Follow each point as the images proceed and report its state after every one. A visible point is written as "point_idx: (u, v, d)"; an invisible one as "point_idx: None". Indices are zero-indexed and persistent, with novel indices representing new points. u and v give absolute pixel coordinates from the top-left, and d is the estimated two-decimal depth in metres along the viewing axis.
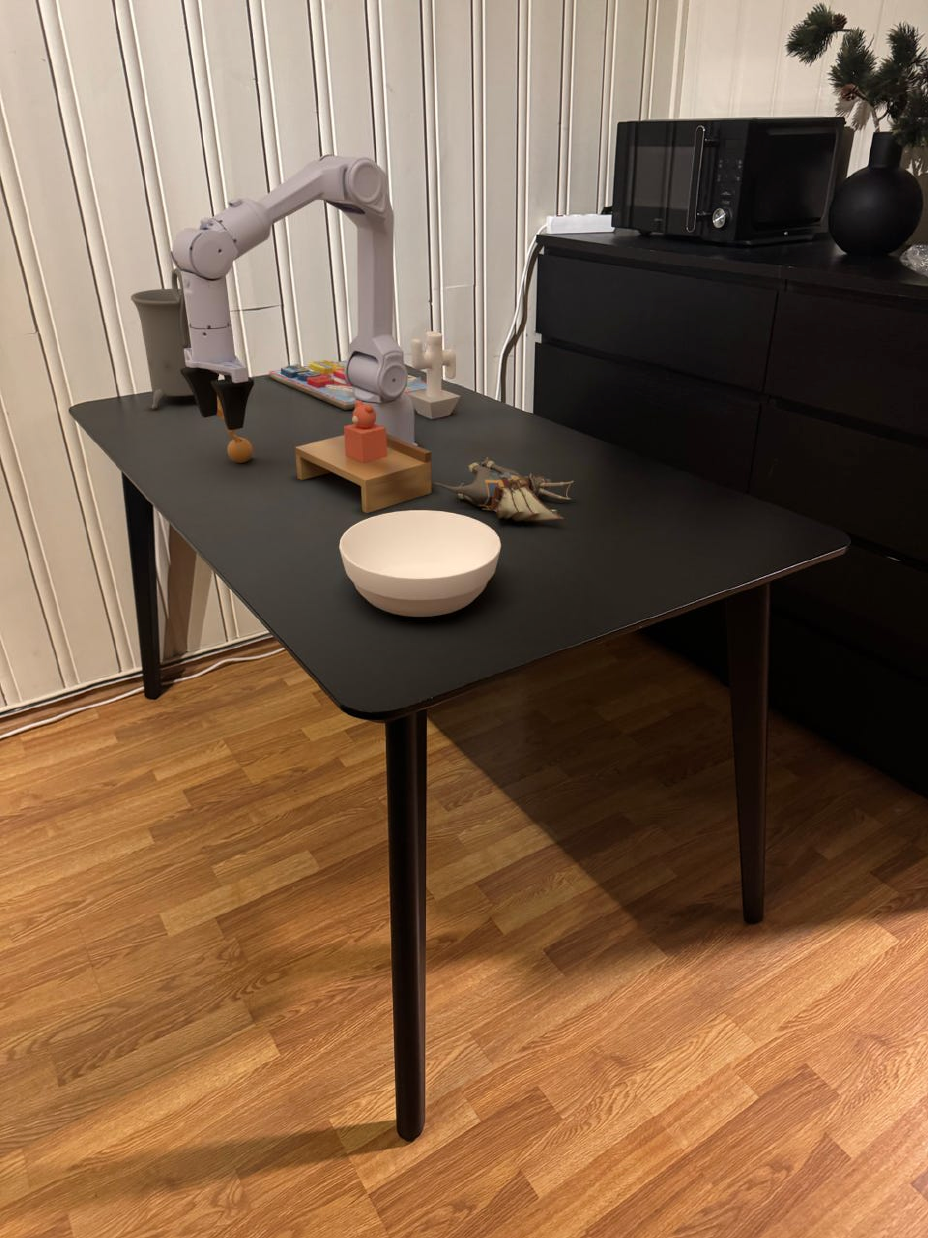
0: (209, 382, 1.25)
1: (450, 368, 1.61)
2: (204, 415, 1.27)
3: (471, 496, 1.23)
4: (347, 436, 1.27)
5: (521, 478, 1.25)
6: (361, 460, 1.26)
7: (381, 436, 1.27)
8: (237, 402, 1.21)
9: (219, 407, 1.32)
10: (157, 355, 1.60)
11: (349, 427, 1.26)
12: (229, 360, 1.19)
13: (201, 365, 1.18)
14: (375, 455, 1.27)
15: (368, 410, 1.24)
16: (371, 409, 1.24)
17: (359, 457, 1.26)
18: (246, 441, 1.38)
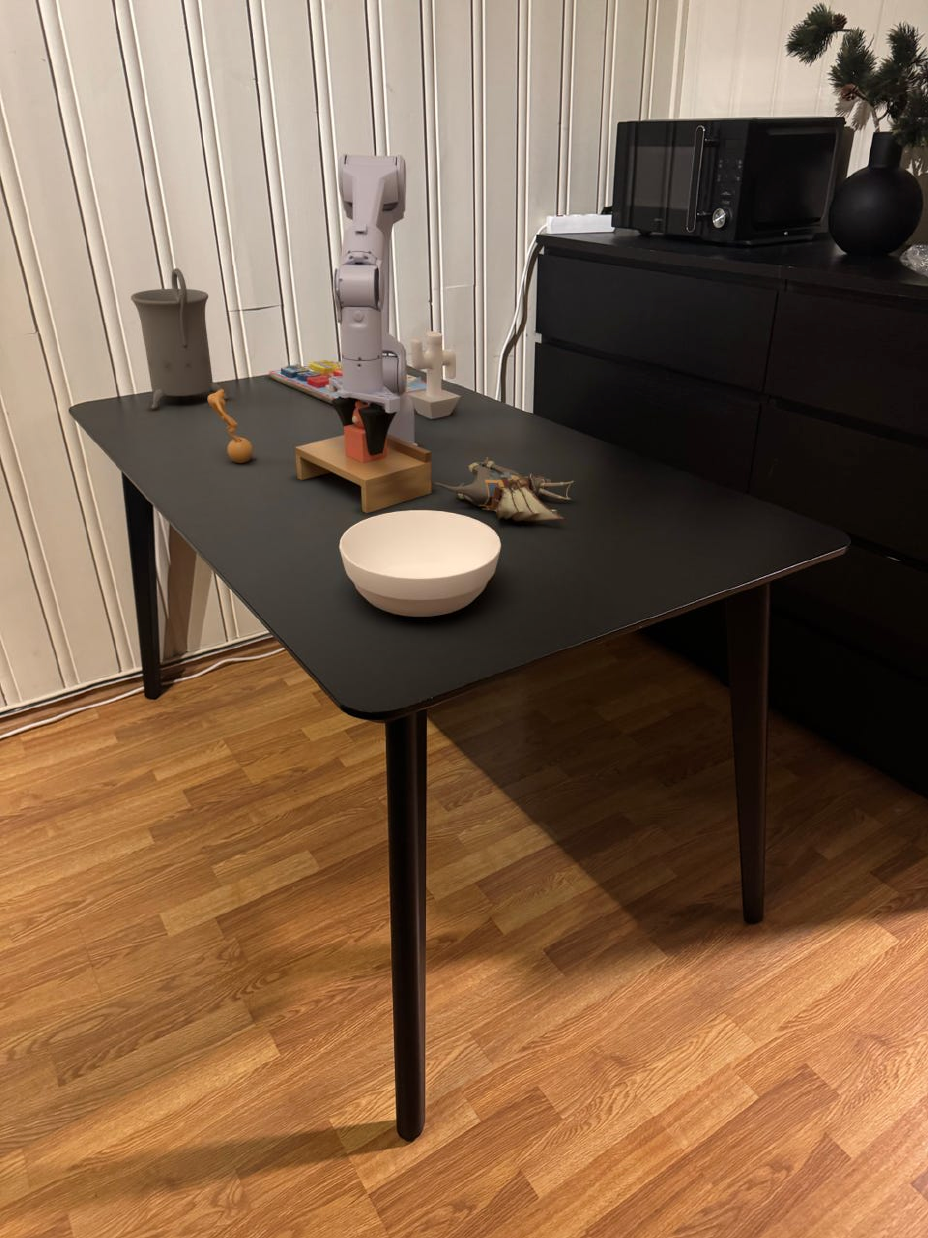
0: None
1: (450, 368, 1.61)
2: None
3: (471, 496, 1.23)
4: (347, 436, 1.27)
5: (521, 478, 1.25)
6: (361, 460, 1.26)
7: None
8: (380, 429, 1.25)
9: (219, 407, 1.32)
10: (157, 355, 1.60)
11: (349, 427, 1.26)
12: (379, 390, 1.23)
13: (353, 395, 1.21)
14: (375, 455, 1.27)
15: None
16: None
17: (359, 457, 1.26)
18: (246, 441, 1.38)
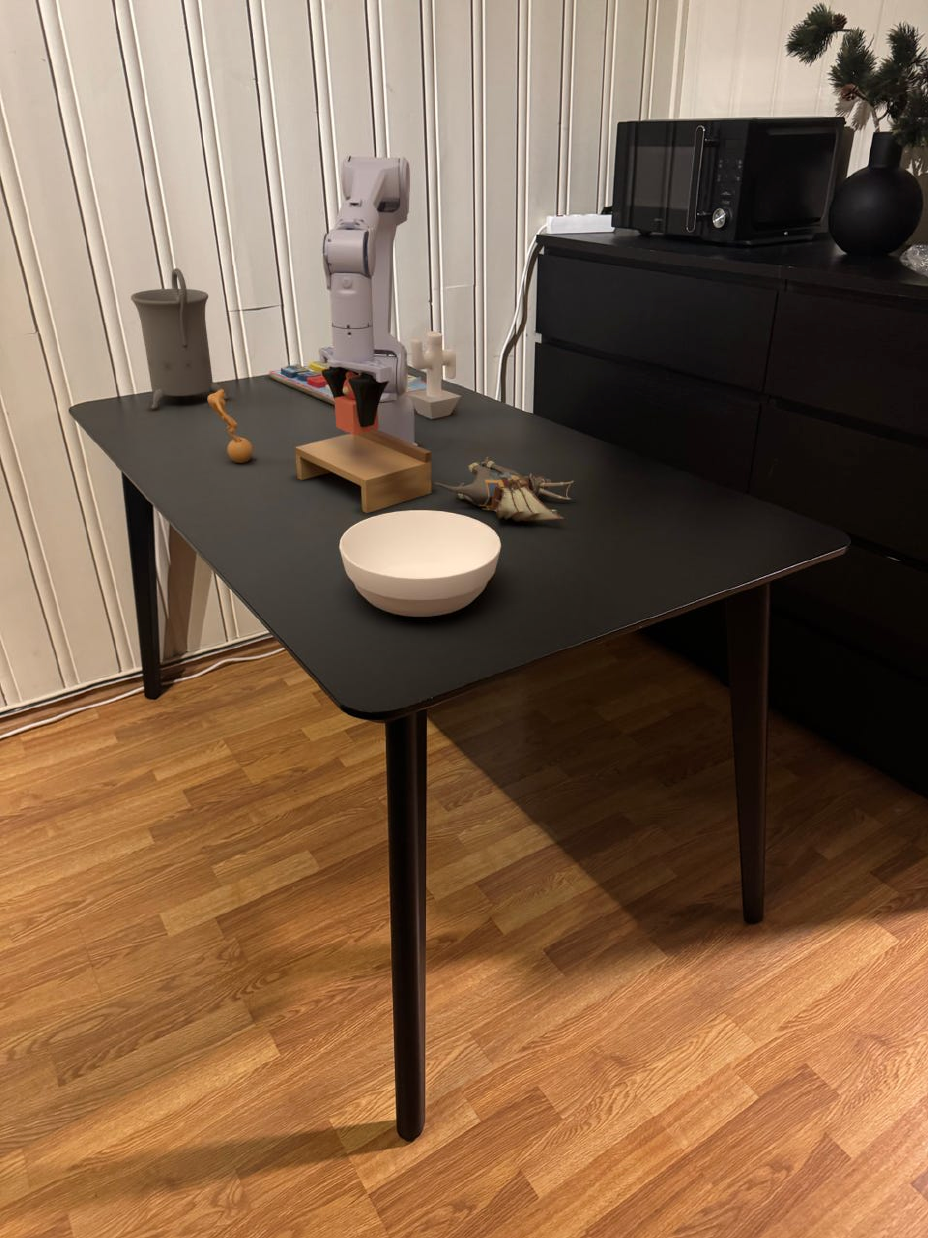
0: None
1: (450, 368, 1.61)
2: None
3: (471, 496, 1.23)
4: (338, 408, 1.24)
5: (521, 478, 1.25)
6: (352, 432, 1.24)
7: None
8: (371, 400, 1.23)
9: (219, 407, 1.32)
10: (157, 355, 1.60)
11: (340, 398, 1.24)
12: (370, 360, 1.20)
13: (344, 365, 1.19)
14: (366, 427, 1.25)
15: None
16: None
17: (350, 429, 1.24)
18: (246, 441, 1.38)
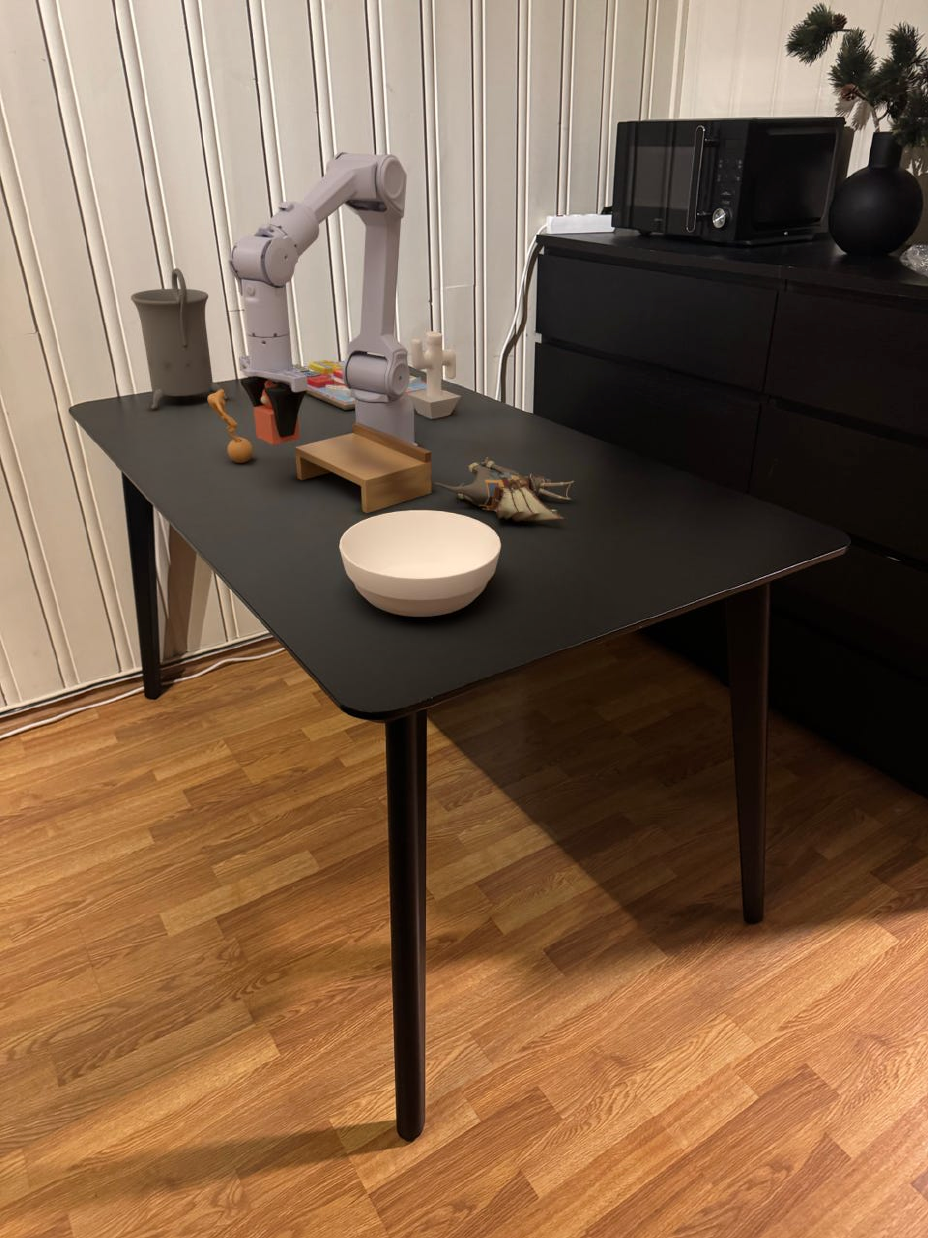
0: None
1: (450, 368, 1.61)
2: None
3: (471, 496, 1.23)
4: (257, 417, 1.22)
5: (521, 478, 1.25)
6: (271, 442, 1.21)
7: None
8: (290, 410, 1.20)
9: (219, 407, 1.32)
10: (157, 355, 1.60)
11: (259, 408, 1.22)
12: (287, 369, 1.18)
13: (259, 374, 1.17)
14: (286, 437, 1.22)
15: None
16: None
17: (269, 440, 1.22)
18: (246, 441, 1.38)
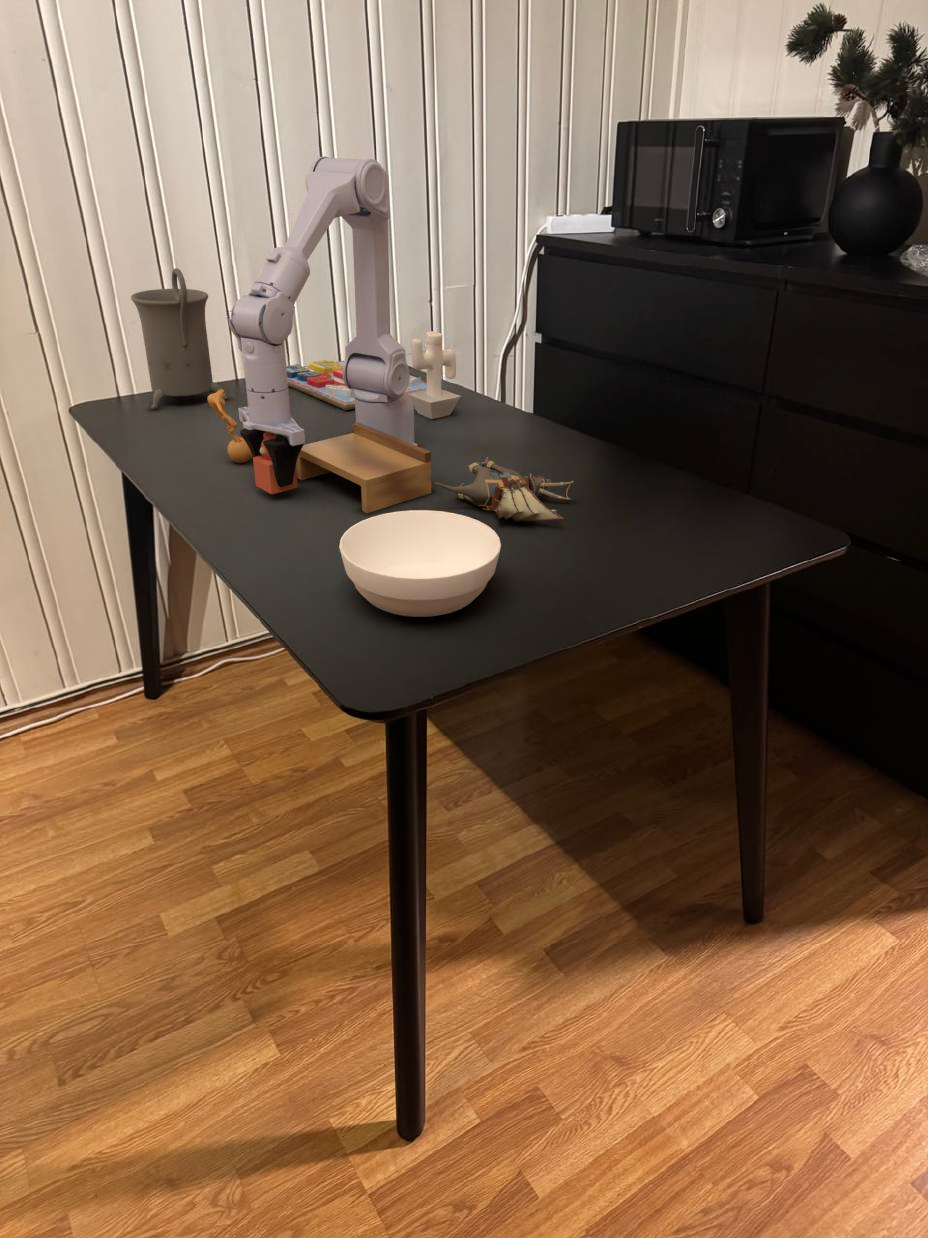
0: None
1: (450, 368, 1.61)
2: None
3: (471, 496, 1.23)
4: (256, 467, 1.26)
5: (521, 478, 1.25)
6: (270, 491, 1.25)
7: None
8: (288, 460, 1.24)
9: (219, 407, 1.32)
10: (157, 355, 1.60)
11: (258, 458, 1.25)
12: (285, 422, 1.21)
13: (258, 427, 1.20)
14: (285, 486, 1.26)
15: None
16: None
17: (268, 489, 1.25)
18: None
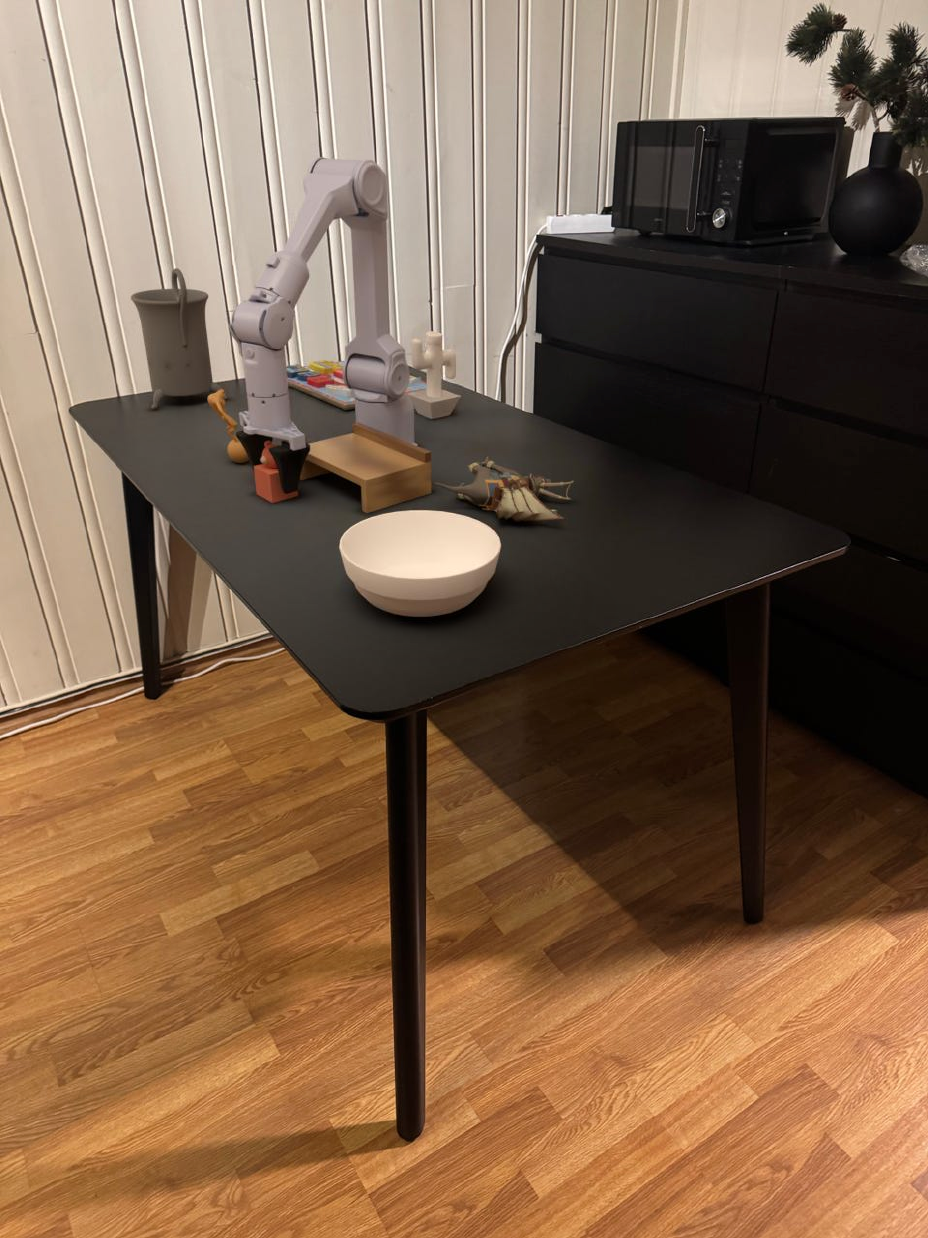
0: (263, 445, 1.28)
1: (450, 368, 1.61)
2: None
3: (471, 496, 1.23)
4: (257, 476, 1.26)
5: (521, 478, 1.25)
6: (271, 500, 1.26)
7: None
8: (293, 467, 1.23)
9: (219, 407, 1.32)
10: (157, 355, 1.60)
11: (259, 467, 1.26)
12: (286, 426, 1.21)
13: (259, 432, 1.20)
14: (285, 495, 1.26)
15: None
16: None
17: (269, 498, 1.26)
18: None
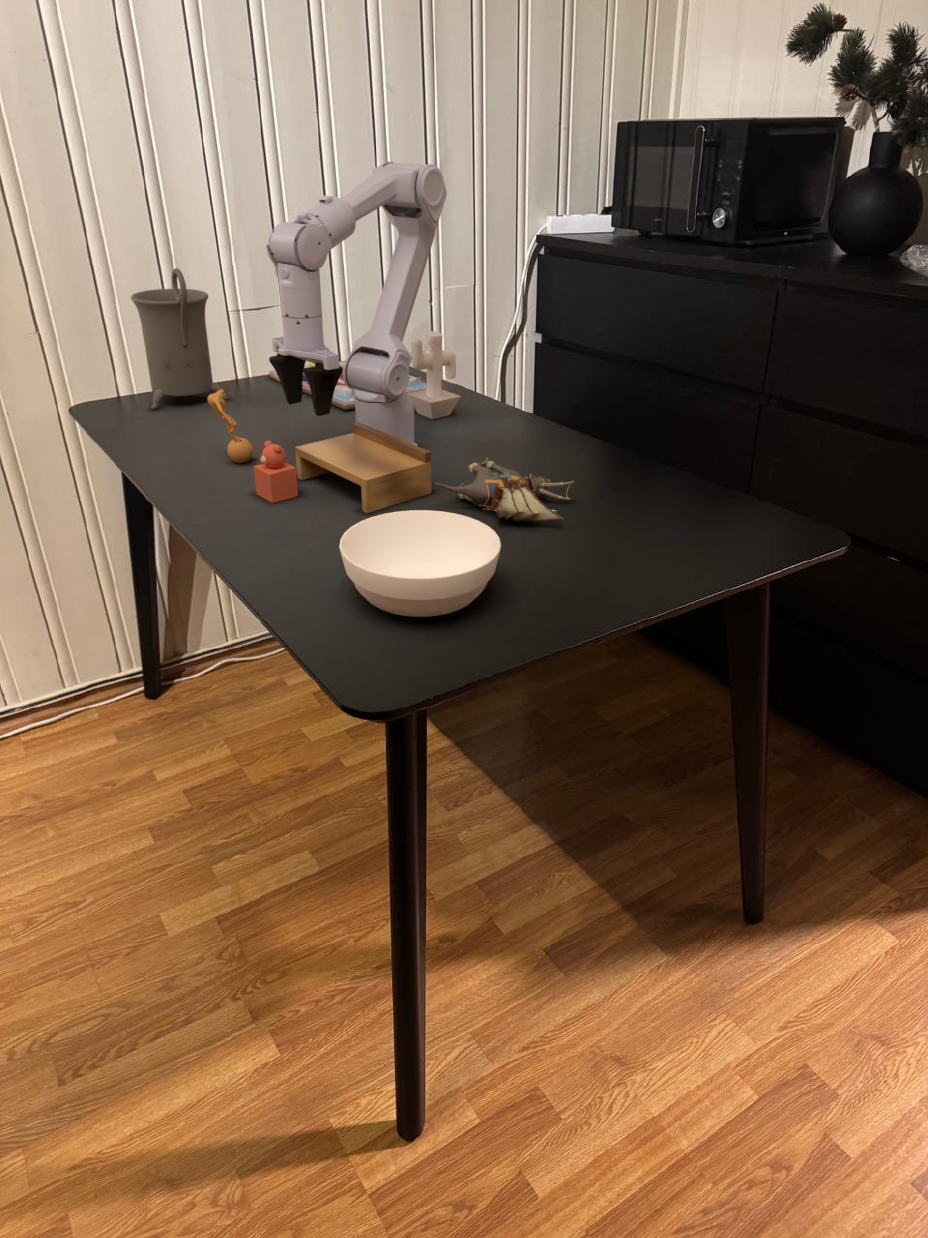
0: (296, 370, 1.31)
1: (450, 368, 1.61)
2: (290, 402, 1.32)
3: (471, 496, 1.23)
4: (257, 476, 1.26)
5: (521, 478, 1.25)
6: (271, 500, 1.26)
7: (291, 476, 1.26)
8: (326, 389, 1.26)
9: (219, 407, 1.32)
10: (157, 355, 1.60)
11: (259, 467, 1.26)
12: (319, 348, 1.25)
13: (293, 353, 1.24)
14: (285, 495, 1.26)
15: (276, 451, 1.23)
16: (279, 450, 1.23)
17: (269, 498, 1.26)
18: (246, 441, 1.38)
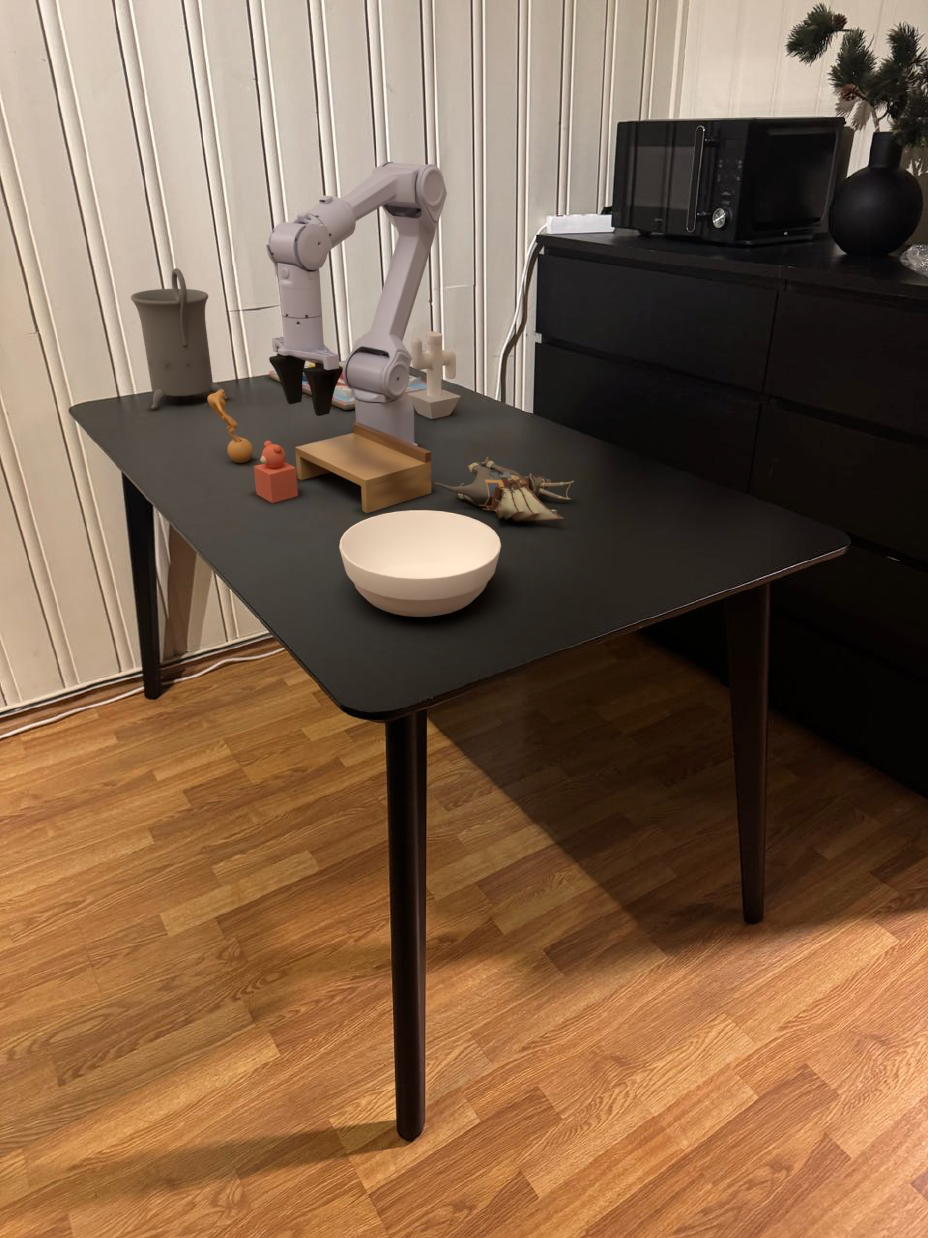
0: (296, 370, 1.31)
1: (450, 368, 1.61)
2: (290, 402, 1.32)
3: (471, 496, 1.23)
4: (257, 476, 1.26)
5: (521, 478, 1.25)
6: (271, 500, 1.26)
7: (291, 476, 1.26)
8: (326, 389, 1.26)
9: (219, 407, 1.32)
10: (157, 355, 1.60)
11: (259, 467, 1.26)
12: (319, 348, 1.25)
13: (293, 353, 1.24)
14: (285, 495, 1.26)
15: (276, 451, 1.23)
16: (279, 450, 1.23)
17: (269, 498, 1.26)
18: (246, 441, 1.38)
